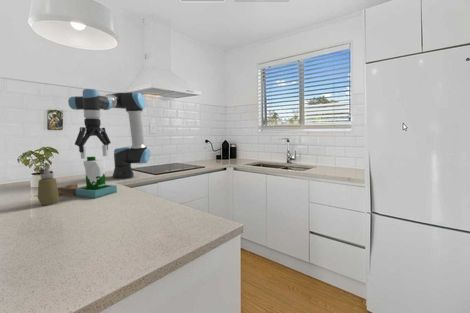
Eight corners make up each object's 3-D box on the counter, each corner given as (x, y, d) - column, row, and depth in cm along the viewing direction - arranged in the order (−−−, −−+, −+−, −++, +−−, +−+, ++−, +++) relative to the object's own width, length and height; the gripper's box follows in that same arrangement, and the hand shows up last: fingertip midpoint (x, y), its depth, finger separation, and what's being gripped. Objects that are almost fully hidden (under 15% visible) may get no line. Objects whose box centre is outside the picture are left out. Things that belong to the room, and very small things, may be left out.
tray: (98, 190, 141) (97, 183, 141) (116, 192, 137) (116, 185, 136) (76, 196, 128) (75, 189, 128) (95, 198, 123) (95, 191, 123)
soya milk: (95, 190, 137) (93, 156, 135) (109, 191, 136) (107, 156, 134) (83, 194, 129) (80, 157, 127) (97, 194, 127) (95, 157, 125)
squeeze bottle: (58, 200, 120) (55, 165, 119) (60, 203, 115) (58, 166, 113) (37, 203, 115) (34, 167, 113) (39, 207, 109) (36, 168, 107)
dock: (76, 190, 143) (76, 183, 142) (92, 191, 139) (91, 184, 138) (57, 194, 132) (56, 187, 132) (73, 196, 128) (73, 189, 128)
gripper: (106, 119, 141) (108, 155, 143) (64, 117, 118) (67, 159, 120) (116, 119, 139) (118, 155, 141) (75, 116, 115) (78, 160, 117)
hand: (94, 157), depth 130 cm, fingers open, 13 cm apart
